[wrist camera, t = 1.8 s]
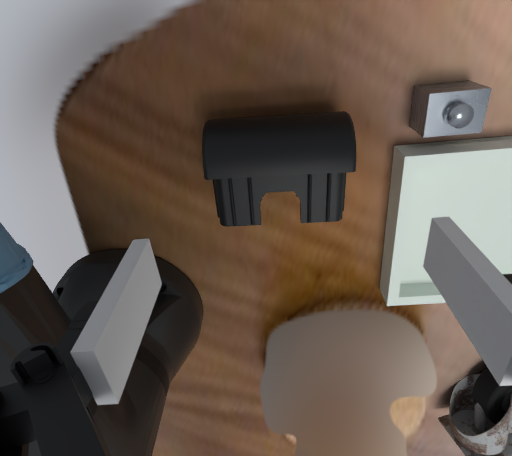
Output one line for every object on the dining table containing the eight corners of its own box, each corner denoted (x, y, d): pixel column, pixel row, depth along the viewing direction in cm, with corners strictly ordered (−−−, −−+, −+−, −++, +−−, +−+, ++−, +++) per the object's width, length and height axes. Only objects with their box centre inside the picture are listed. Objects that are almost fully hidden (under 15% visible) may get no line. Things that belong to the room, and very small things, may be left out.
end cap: (340, 100, 28) (360, 124, 22) (335, 185, 31) (352, 225, 26) (210, 108, 28) (197, 134, 22) (221, 191, 32) (211, 231, 26)
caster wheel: (522, 335, 44) (516, 396, 47) (435, 360, 43) (436, 421, 46) (576, 375, 38) (565, 442, 41) (476, 405, 37) (474, 471, 40)
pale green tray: (379, 288, 37) (388, 308, 34) (400, 87, 27) (414, 95, 24) (543, 278, 36) (564, 298, 33) (627, 65, 26) (667, 71, 23)
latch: (409, 126, 28) (427, 140, 25) (414, 85, 27) (434, 96, 24) (461, 121, 28) (487, 135, 25) (469, 80, 27) (498, 90, 23)
